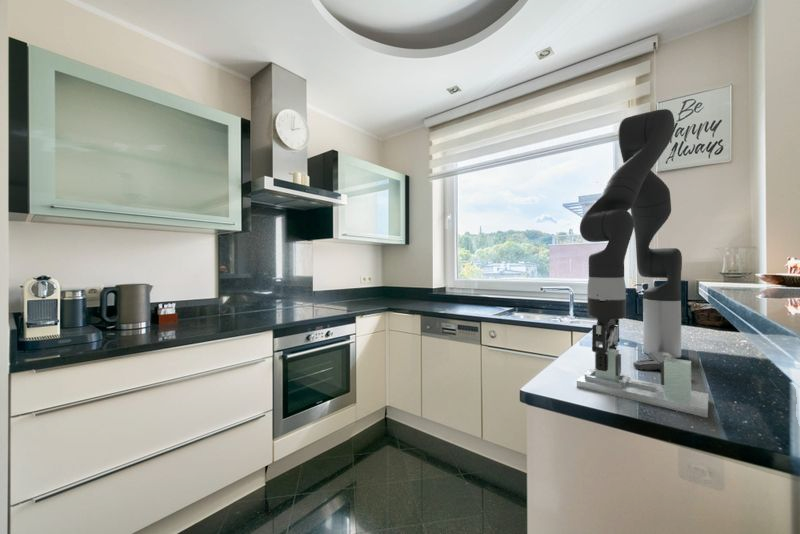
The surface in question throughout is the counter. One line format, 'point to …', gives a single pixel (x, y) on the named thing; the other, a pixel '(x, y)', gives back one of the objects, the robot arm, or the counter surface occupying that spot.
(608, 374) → the pale grey upright block
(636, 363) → the dark grey bracket
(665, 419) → the counter surface
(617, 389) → the rail
